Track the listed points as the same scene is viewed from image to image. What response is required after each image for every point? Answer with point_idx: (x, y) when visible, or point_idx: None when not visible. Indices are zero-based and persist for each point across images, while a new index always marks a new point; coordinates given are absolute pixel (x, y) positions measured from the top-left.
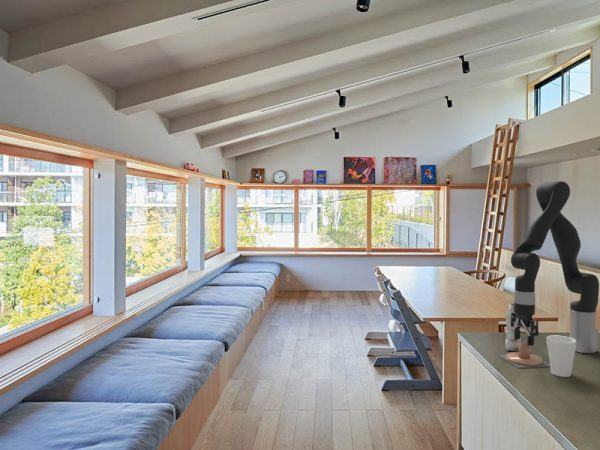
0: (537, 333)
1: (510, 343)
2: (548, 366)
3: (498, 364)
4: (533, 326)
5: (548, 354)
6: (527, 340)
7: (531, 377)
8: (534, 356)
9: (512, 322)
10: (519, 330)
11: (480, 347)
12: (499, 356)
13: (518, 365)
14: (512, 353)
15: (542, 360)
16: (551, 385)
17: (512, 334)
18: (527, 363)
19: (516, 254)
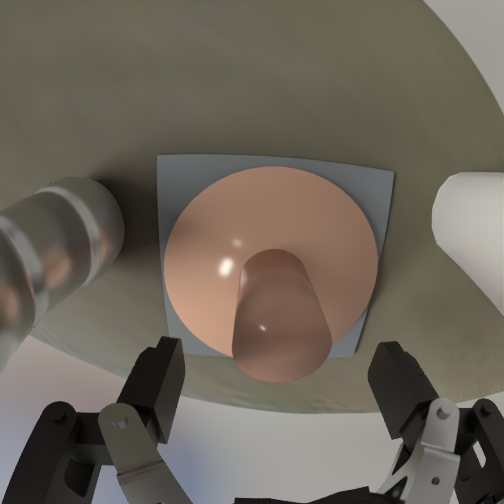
0: (495, 421)
1: (92, 281)
2: (387, 197)
3: (280, 396)
4: (491, 497)
5: (486, 295)
6: (379, 406)
7: (429, 350)
8: (270, 200)
9: (92, 492)
10: (156, 412)
11: (65, 340)
12: (185, 350)
13: (334, 347)
14: (188, 304)
15: (353, 204)
16: (484, 323)
17: (53, 305)
18: (357, 319)
19: None
